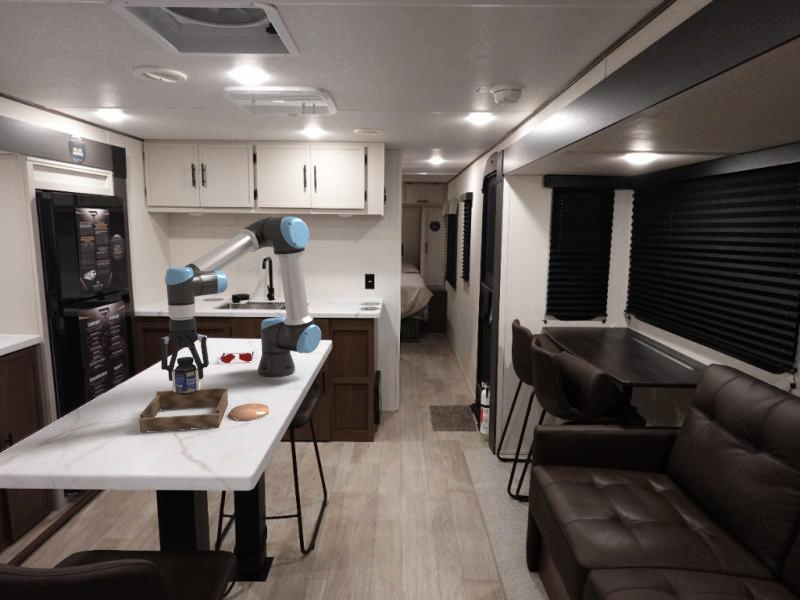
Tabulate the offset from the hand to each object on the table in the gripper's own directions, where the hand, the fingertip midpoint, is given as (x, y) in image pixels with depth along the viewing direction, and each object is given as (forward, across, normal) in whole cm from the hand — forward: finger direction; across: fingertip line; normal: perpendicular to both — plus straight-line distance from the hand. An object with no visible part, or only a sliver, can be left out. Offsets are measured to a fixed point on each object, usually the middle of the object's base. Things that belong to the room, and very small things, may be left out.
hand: (187, 389), depth 153 cm
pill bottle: (+1, 0, 0) cm, 1 cm away
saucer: (+9, -19, 0) cm, 21 cm away
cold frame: (+9, 0, 0) cm, 9 cm away
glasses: (+11, -7, -72) cm, 73 cm away
